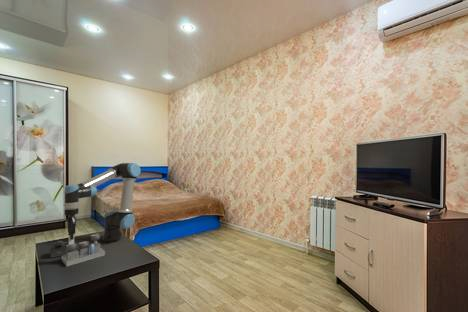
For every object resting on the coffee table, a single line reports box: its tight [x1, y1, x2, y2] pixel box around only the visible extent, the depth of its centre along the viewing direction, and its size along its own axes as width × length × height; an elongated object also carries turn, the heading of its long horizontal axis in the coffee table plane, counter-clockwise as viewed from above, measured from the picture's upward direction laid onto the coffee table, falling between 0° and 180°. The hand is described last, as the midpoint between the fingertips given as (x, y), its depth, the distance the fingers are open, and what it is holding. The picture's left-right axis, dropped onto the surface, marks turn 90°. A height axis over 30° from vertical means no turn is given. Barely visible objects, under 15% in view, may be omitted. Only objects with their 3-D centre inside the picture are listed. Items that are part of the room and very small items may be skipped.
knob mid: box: [78, 240, 90, 249], centre depth 152 cm, size 6×6×7 cm
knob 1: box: [66, 242, 78, 251], centre depth 147 cm, size 6×6×7 cm
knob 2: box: [90, 233, 101, 245], centre depth 157 cm, size 6×6×7 cm
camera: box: [49, 240, 69, 259], centre depth 157 cm, size 13×10×10 cm
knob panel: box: [61, 242, 106, 267], centre depth 152 cm, size 22×14×7 cm, turn 138°
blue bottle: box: [89, 243, 94, 254], centre depth 151 cm, size 2×2×6 cm
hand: (71, 244), depth 147 cm, fingers closed
